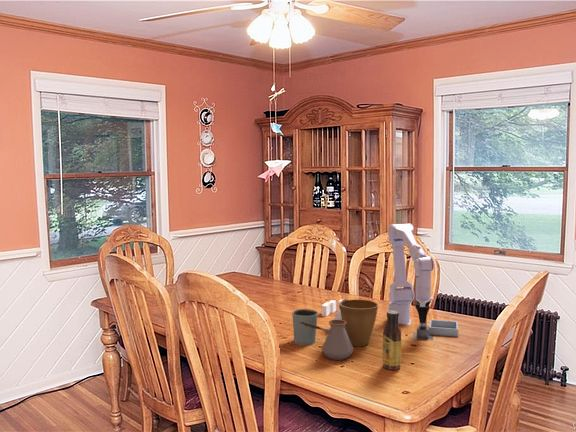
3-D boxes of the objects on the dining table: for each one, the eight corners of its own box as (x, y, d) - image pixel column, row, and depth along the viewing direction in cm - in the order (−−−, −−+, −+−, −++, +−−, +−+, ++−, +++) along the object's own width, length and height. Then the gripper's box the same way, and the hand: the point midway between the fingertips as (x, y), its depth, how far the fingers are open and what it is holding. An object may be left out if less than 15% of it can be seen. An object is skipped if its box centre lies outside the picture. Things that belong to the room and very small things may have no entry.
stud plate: (412, 340, 211) (412, 332, 210) (413, 334, 218) (413, 326, 218) (432, 341, 208) (432, 334, 208) (433, 335, 216) (433, 328, 216)
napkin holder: (323, 319, 243) (323, 307, 242) (310, 313, 253) (310, 301, 252) (350, 314, 250) (350, 302, 250) (336, 308, 260) (336, 297, 259)
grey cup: (288, 339, 213) (288, 310, 212) (311, 336, 217) (310, 307, 216) (299, 347, 204) (298, 317, 203) (322, 343, 208) (322, 313, 207)
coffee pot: (343, 348, 202) (343, 310, 200) (359, 358, 191) (359, 318, 190) (292, 357, 193) (292, 317, 192) (306, 368, 183) (306, 326, 181)
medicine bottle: (355, 326, 230) (355, 299, 229) (350, 330, 224) (350, 303, 223) (339, 324, 233) (339, 297, 232) (334, 328, 227) (334, 301, 226)
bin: (429, 335, 216) (429, 327, 215) (430, 327, 226) (430, 319, 226) (457, 337, 213) (458, 329, 212) (457, 329, 223) (457, 321, 223)
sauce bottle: (380, 364, 185) (380, 309, 184) (397, 363, 186) (398, 308, 184) (385, 371, 179) (385, 314, 177) (403, 370, 179) (403, 313, 178)
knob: (416, 337, 212) (416, 320, 211) (417, 334, 216) (417, 317, 215) (428, 338, 210) (428, 321, 210) (428, 335, 215) (429, 318, 214)
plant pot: (373, 351, 198) (373, 310, 197) (335, 347, 203) (335, 306, 202) (381, 339, 212) (381, 300, 211) (344, 335, 217) (344, 297, 216)
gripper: (433, 291, 203) (433, 325, 204) (434, 283, 217) (433, 315, 218) (414, 290, 205) (414, 324, 206) (416, 282, 219) (416, 314, 220)
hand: (423, 320), depth 212 cm, fingers open, 7 cm apart
